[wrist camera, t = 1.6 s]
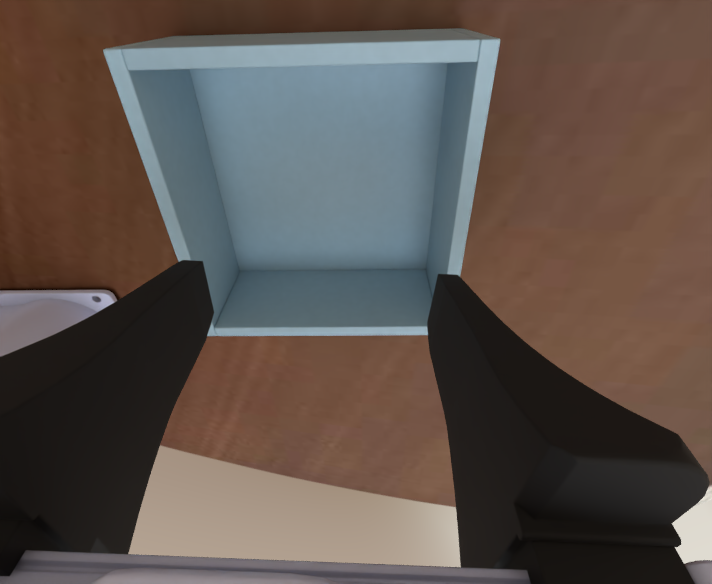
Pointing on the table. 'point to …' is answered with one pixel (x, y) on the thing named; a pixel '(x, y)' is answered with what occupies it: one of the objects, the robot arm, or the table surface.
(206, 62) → the light blue open box
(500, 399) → the robot arm
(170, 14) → the table surface
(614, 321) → the table surface
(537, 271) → the table surface
